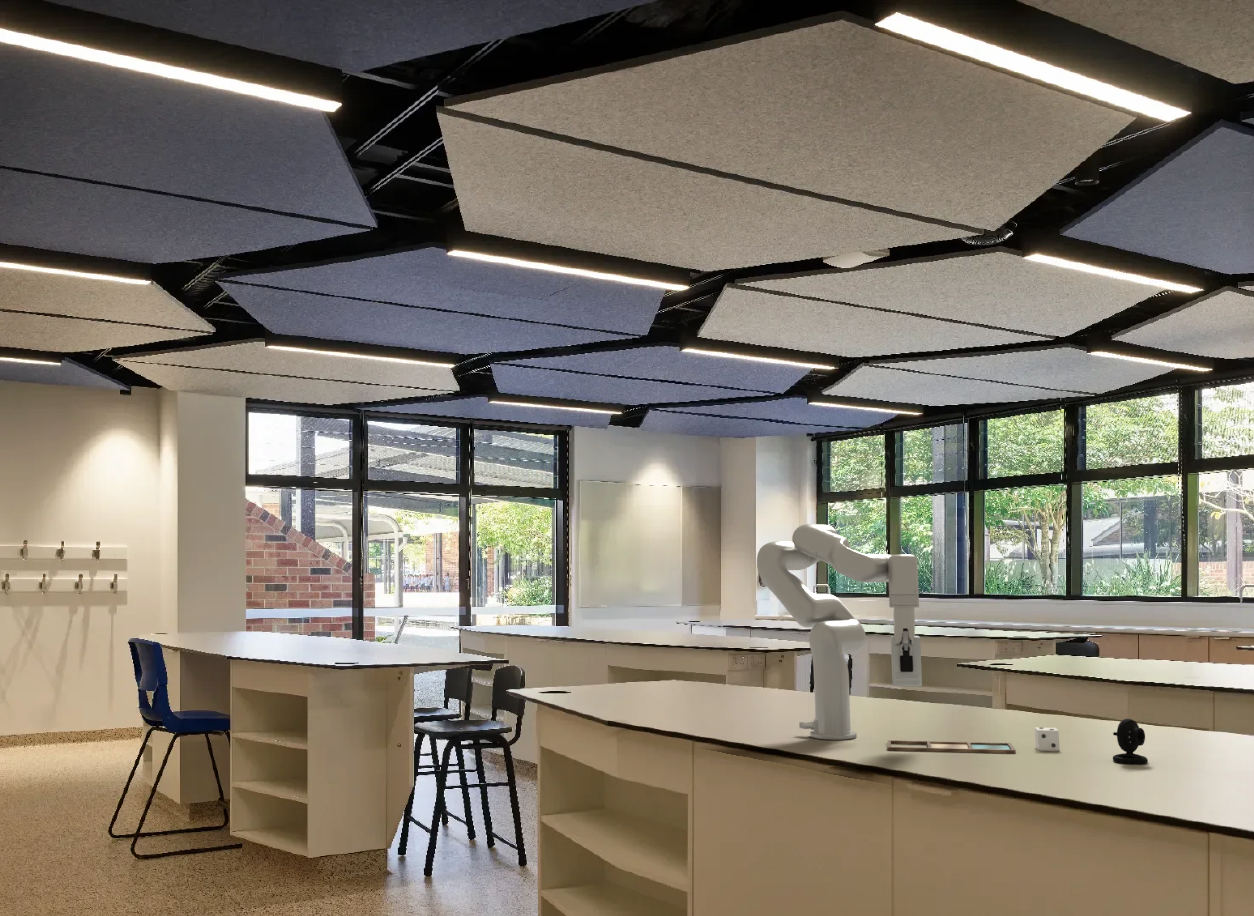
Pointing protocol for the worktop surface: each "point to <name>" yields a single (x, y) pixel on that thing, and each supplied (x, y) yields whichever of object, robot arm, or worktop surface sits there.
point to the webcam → (1129, 742)
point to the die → (1047, 739)
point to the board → (954, 746)
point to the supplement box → (916, 676)
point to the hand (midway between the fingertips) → (906, 669)
